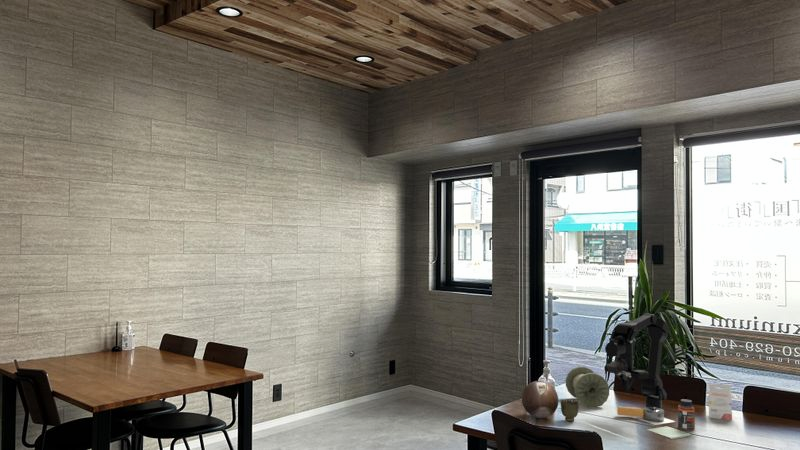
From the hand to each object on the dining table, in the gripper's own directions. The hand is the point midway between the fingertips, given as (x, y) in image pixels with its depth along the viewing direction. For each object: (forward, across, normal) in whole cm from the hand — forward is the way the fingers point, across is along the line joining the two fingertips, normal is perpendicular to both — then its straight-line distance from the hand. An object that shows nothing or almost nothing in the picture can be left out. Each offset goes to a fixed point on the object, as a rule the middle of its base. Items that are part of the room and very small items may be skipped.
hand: (625, 392), depth 240 cm
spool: (+12, -28, +5) cm, 31 cm away
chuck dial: (+11, +2, +6) cm, 13 cm away
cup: (+12, -8, -23) cm, 27 cm away
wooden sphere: (+12, -17, -31) cm, 37 cm away
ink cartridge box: (+12, +14, +39) cm, 43 cm away
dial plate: (+11, +5, +10) cm, 16 cm away
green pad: (+11, +20, +1) cm, 23 cm away
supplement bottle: (+12, +19, +12) cm, 25 cm away
